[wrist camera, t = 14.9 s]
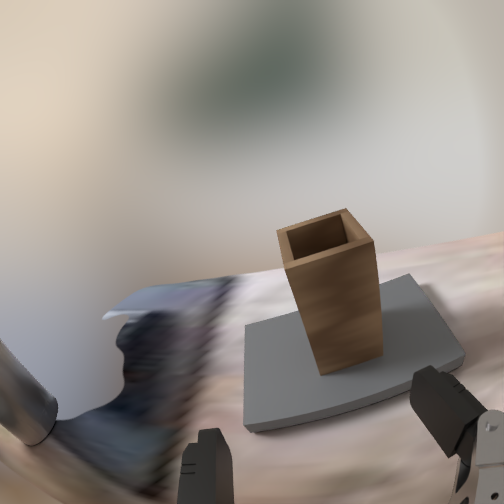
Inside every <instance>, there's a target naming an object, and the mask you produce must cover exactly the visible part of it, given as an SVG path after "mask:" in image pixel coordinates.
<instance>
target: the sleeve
mask: <svg viewBox="0 0 504 504" xmlns="http://www.w3.org/2000/svg"><path fill="white" fill-rule="evenodd" d="M277 235H278V240H279V245H280V249H281V254H282V259H283V264H284V269H285V272H286V275H287V278H288V281H289V284H290V287H291V290H292V292H293V295H294V298H295V301H296V304H297V307H298V310H299V313H300V316H301V319H302V322H303V325H304V328H305V331H306V334H307V337H308V340H309V343H310V346H311V349H312V352H313V355H314V358H315V361H316V364H317V367H318V370H319V374H320V376H322V375H325V374H329V373H332V372H335V371H339V370H342V369H345V368H348V367H351V366H354V365H357V364H360V363H363V362H366V361H369V360H372V359H375V358H377V357H380V356H383V331H382V313H381V300H380V288H379V278H378V269H377V261H376V253H375V247H374V241H373V239H372V238H371V237H370V236H369V235H368V234H367V232H366V231H365V230H364V229H363V227H362V226H361V225H360V224H359V223H358V222H357V220H356V219H355V218H354V217H353V216H352V215H351V214H350V212H349V211H348V210H347V209H346V208H345V209H342V210H339V211H336V212H332V213H329V214H326V215H323V216H320V217H317V218H314V219H310V220H307V221H304V222H301V223H298V224H295V225H292V226H288V227H285V228H282V229H279V230H277Z"/></svg>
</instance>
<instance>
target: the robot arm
mask: <svg viewBox="0 0 504 504" xmlns="http://www.w3.org/2000/svg"><path fill="white" fill-rule="evenodd" d="M410 404H411V406H412V408H413V410H414V411H415V413H416V414H417V415H418V417H419V418H420V419H421V421H422V422H423V423H424V425H425V426H426V428H427V429H428V430H429V432H430V433H431V434H432V436H433V437H434V439H435V440H436V441H437V443H438V444H439V446H440V447H441V448H442V450H443V451H444V453H445V454H446V456H447V457H448V458H450V457H451V456H453V455H455V454H456V453H457V454H458V455H459V459H458V463H457V469H456V475H455V481H454V486H453V491H452V495H451V498H450V500H449V502H448V504H504V413H503V412H501V411H499V410H489V411H488V410H487V409H486V408H485V407H484V406H483V405H482V404H481V403H480V402H479V401H478V400H477V399H476V398H475V397H474V396H473V395H472V394H471V393H470V392H469V391H468V390H466V388H465V387H464V386H463V385H462V384H460V382H459V381H458V380H457V379H456V378H455V377H454V376H453V375H451V374H448V373H446V372H444V371H442V372H440V373H439V372H438V371H437V370H436V369H435V368H434V367H433V366H431V365H429V366H427V367H424V368H422V369H420V370H418V371H416V372H414V374H413V379H412V386H411V392H410ZM57 413H58V403H57V401H56V398H54V396H53V395H52V394H50V393H49V392H48V391H47V390H46V389H45V388H44V387H43V386H42V385H41V384H40V383H39V382H38V381H37V380H36V379H35V378H34V377H33V375H31V374H30V372H29V371H28V370H27V369H26V368H25V367H24V366H23V365H22V364H21V363H20V361H19V360H18V359H17V358H16V357H15V356H14V355H13V354H12V352H11V351H10V350H9V349H8V348H7V346H6V345H5V344H4V343H3V341H2V340H1V339H0V424H1V425H2V426H3V427H5V428H6V429H7V430H8V431H9V432H11V433H12V434H13V435H14V436H16V437H17V438H18V439H19V440H21V441H22V442H23V443H25V444H27V445H35V444H38V443H39V442H41V441H42V440H43V439H44V438H45V437H46V436H47V435H48V434H49V432H50V431H51V429H52V427H53V425H54V423H55V420H56V417H57ZM181 464H182V466H181V472H180V473H181V475H180V480H179V489H178V499H177V504H234V490H233V467H232V456H231V452H230V449H229V447H228V445H227V443H226V441H225V439H224V437H223V435H222V433H221V431H220V429H219V428H212V429H203V430H199V433H198V443H189V444H188V446H187V447H186V449H185V451H184V452H183V455H182V463H181Z"/></svg>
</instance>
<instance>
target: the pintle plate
mask: <svg viewBox="0 0 504 504" xmlns="http://www.w3.org/2000/svg"><path fill="white" fill-rule="evenodd" d="M379 288H380V300H381V313H382V331H383V356H380V357H377V358H375V359H372V360H369V361H366V362H363V363H360V364H357V365H354V366H351V367H348V368H345V369H342V370H339V371H335V372H332V373H329V374H325V375H322V376H320V374H319V370H318V367H317V364H316V361H315V358H314V355H313V352H312V349H311V346H310V343H309V340H308V337H307V334H306V331H305V328H304V325H303V322H302V319H301V316H300V313H299V311H296V312H292V313H289V314H285V315H282V316H278V317H275V318H271V319H267V320H264V321H260V322H256V323H252V324H249V325H245V353H244V417H243V425H244V426H245V427H246V429H247V430H248V431H249V432H250V433H252V432H259V431H265V430H271V429H277V428H283V427H288V426H293V425H297V424H302V423H307V422H311V421H315V420H319V419H323V418H327V417H331V416H334V415H338V414H342V413H345V412H348V411H352V410H355V409H358V408H361V407H364V406H367V405H370V404H373V403H376V402H379V401H382V400H385V399H387V398H390V397H393V396H395V395H398V394H400V393H403V392H405V391H408V390H410V389H411V386H412V379H413V374H414V372H416V371H418V370H420V369H422V368H424V367H427V366H429V365H431V366H433V367H434V368H435V369H436V370H437V371H438V372H439V373H440V372H442V371H444V372H446V373H448V372H450V371H452V370H453V369H455V368H457V367H459V366H461V365H462V363H463V360H464V357H465V352H464V350H463V349H462V347H461V346H460V344H459V342H458V341H457V339H456V338H455V336H454V335H453V333H452V332H451V330H450V329H449V327H448V326H447V324H446V323H445V321H444V320H443V318H442V317H441V316H440V314H439V313H438V311H437V310H436V308H435V307H434V306H433V304H432V303H431V301H430V300H429V299H428V297H427V296H426V295H425V293H424V292H423V291H422V289H421V288H420V287H419V285H418V284H417V283H416V281H415V280H414V279H413V277H412V276H411V275H410V274H406V275H404V276H401V277H398V278H396V279H393V280H390V281H388V282H385V283H382V284H379Z"/></svg>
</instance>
